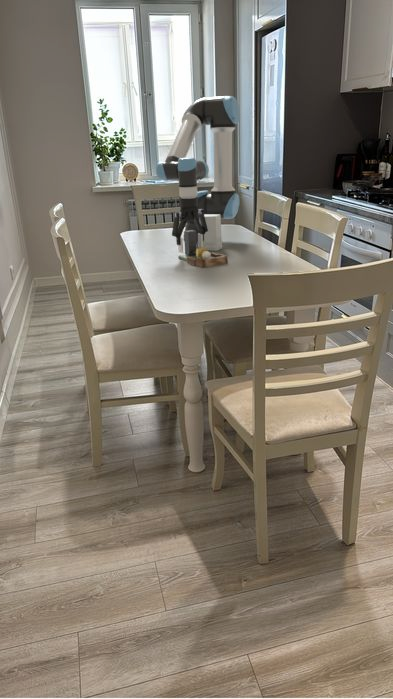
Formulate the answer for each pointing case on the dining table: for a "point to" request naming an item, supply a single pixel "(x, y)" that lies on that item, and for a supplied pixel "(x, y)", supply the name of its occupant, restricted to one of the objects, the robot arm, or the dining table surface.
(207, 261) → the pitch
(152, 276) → the dining table surface
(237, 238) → the dining table surface
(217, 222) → the skincare box
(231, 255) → the dining table surface
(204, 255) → the ball
